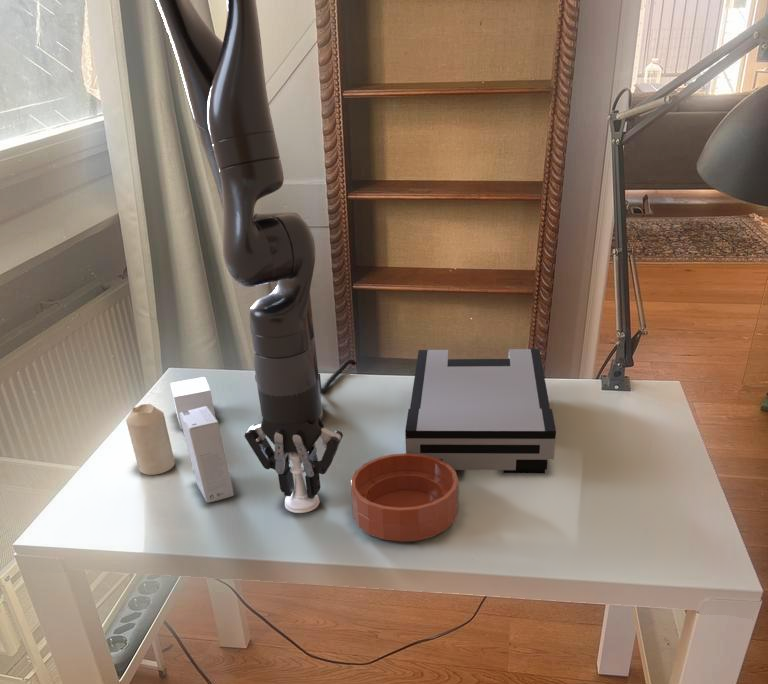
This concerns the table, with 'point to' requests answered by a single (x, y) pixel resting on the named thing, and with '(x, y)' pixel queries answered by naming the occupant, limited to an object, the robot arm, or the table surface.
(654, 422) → the table surface
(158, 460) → the candle
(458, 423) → the game console
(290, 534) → the table surface
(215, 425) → the cosmetic box
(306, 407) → the robot arm
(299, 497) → the chess piece
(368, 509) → the bowl
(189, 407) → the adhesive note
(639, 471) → the table surface
